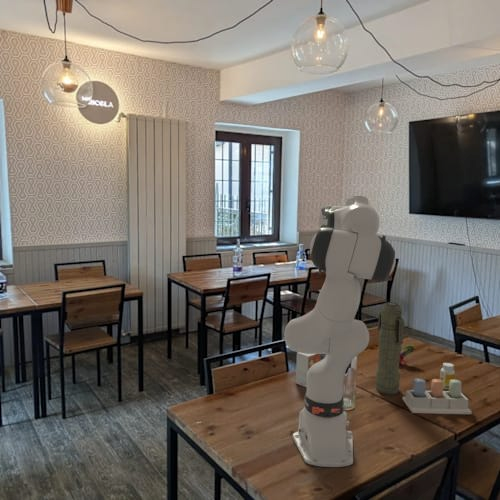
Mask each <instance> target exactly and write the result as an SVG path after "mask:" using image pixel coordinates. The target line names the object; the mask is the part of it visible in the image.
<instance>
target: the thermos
mask: <svg viewBox="0 0 500 500" xmlns="http://www.w3.org/2000/svg"><path fill="white" fill-rule="evenodd" d="M402 313H403V312H402V308H401V304H399V303H397V302H393V301H387V302H385V303H383V305H382V308H381V312H380V313H379V314H378V319H377V320H378V323H377V337H378V338H377V340H378V341H377V347H378V363H377V365H378V366H377V369H376V375H375V384H376V385H375V390H376V391H377V392H379V393H380V394H384V395H388V396H389V395H390V396H392V395H396V394H398V393H399V387H400V380H401V379H400V377H401V376H400V375H401V374H400V371H399V370H400V363H399V357H400V350H401V349H402V345H403V344H404V331H405V321H404V318H402V317H403V316H402V315H403V314H402Z"/></svg>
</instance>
